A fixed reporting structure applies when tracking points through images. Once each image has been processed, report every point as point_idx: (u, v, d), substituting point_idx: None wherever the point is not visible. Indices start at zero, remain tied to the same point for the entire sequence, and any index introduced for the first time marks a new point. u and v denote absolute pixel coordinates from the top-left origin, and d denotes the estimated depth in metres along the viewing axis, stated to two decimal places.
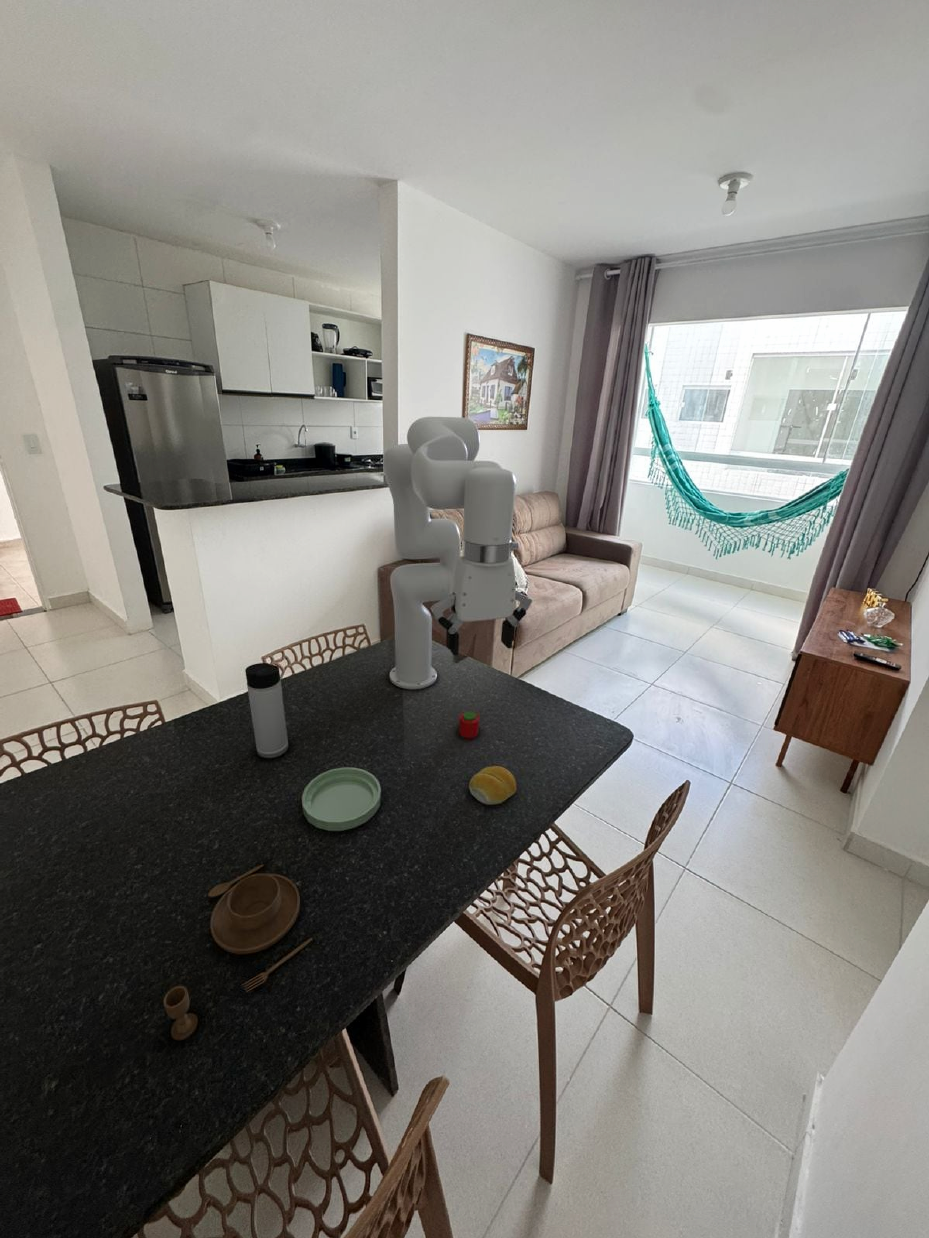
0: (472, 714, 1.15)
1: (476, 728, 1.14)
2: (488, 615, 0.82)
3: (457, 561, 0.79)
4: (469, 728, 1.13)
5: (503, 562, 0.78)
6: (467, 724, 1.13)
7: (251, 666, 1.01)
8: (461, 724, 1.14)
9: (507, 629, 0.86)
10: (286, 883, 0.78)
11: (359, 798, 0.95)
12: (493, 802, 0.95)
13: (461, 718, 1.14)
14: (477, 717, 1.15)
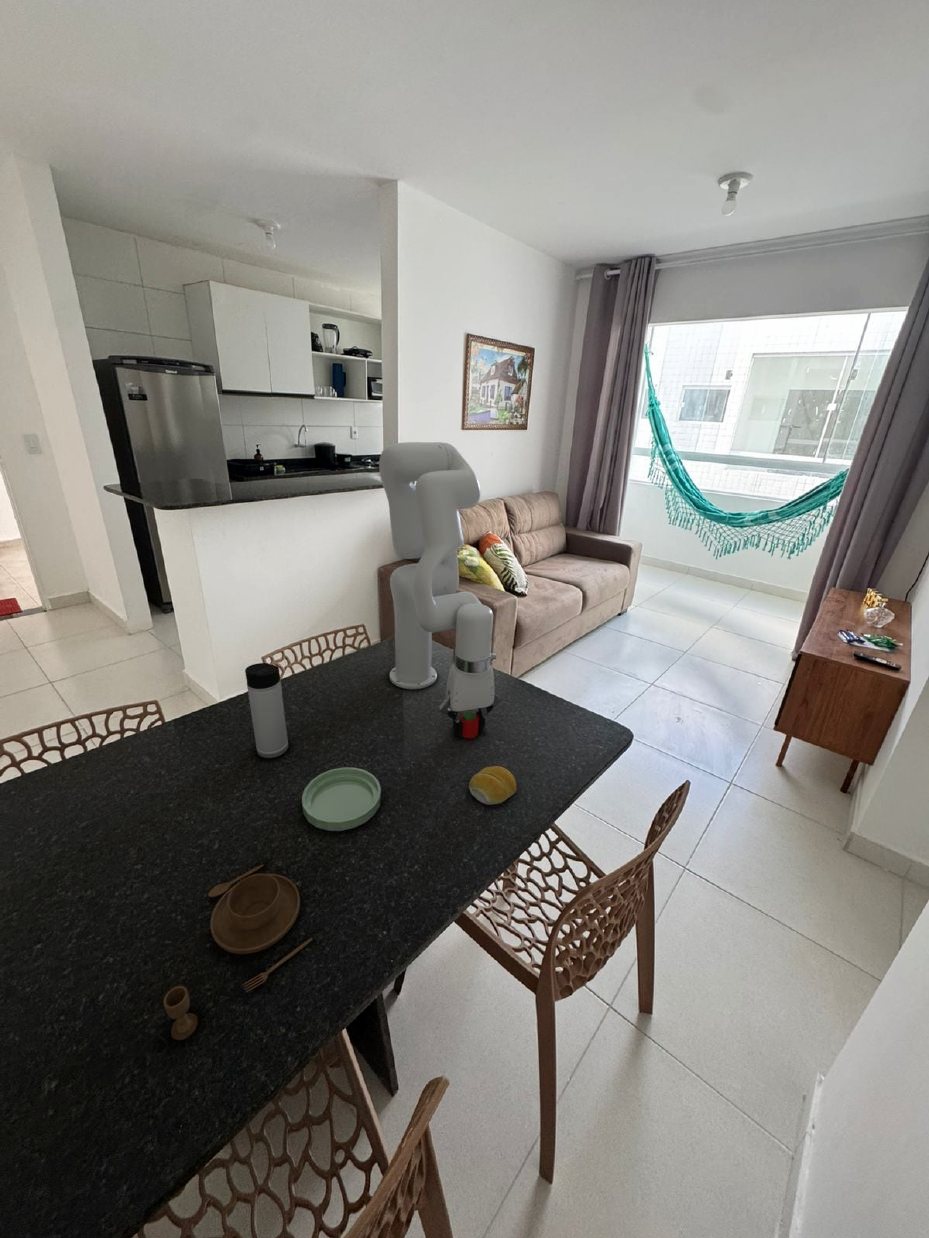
0: (472, 714, 1.15)
1: (476, 728, 1.14)
2: (474, 706, 1.11)
3: (451, 669, 1.09)
4: (469, 728, 1.13)
5: (484, 671, 1.07)
6: (467, 724, 1.13)
7: (251, 666, 1.01)
8: None
9: (479, 719, 1.15)
10: (286, 883, 0.78)
11: (359, 798, 0.95)
12: (493, 802, 0.95)
13: (461, 718, 1.14)
14: (477, 717, 1.15)
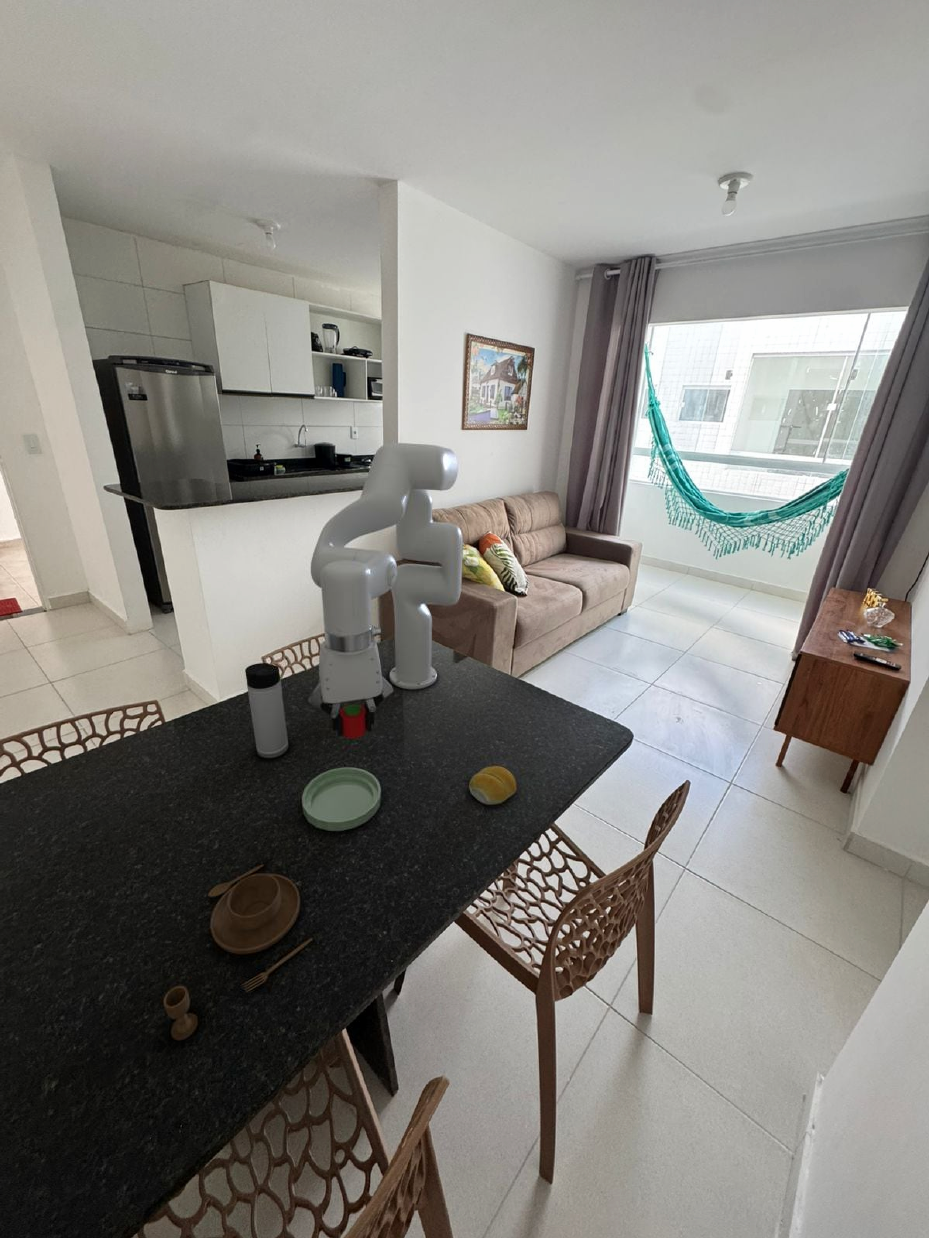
0: (356, 707, 0.89)
1: (361, 725, 0.89)
2: (354, 696, 0.86)
3: (320, 647, 0.83)
4: (351, 725, 0.88)
5: (362, 650, 0.81)
6: (348, 720, 0.87)
7: (251, 666, 1.01)
8: (341, 720, 0.88)
9: None
10: (286, 883, 0.78)
11: (359, 798, 0.95)
12: (493, 802, 0.95)
13: (342, 712, 0.89)
14: (363, 711, 0.89)
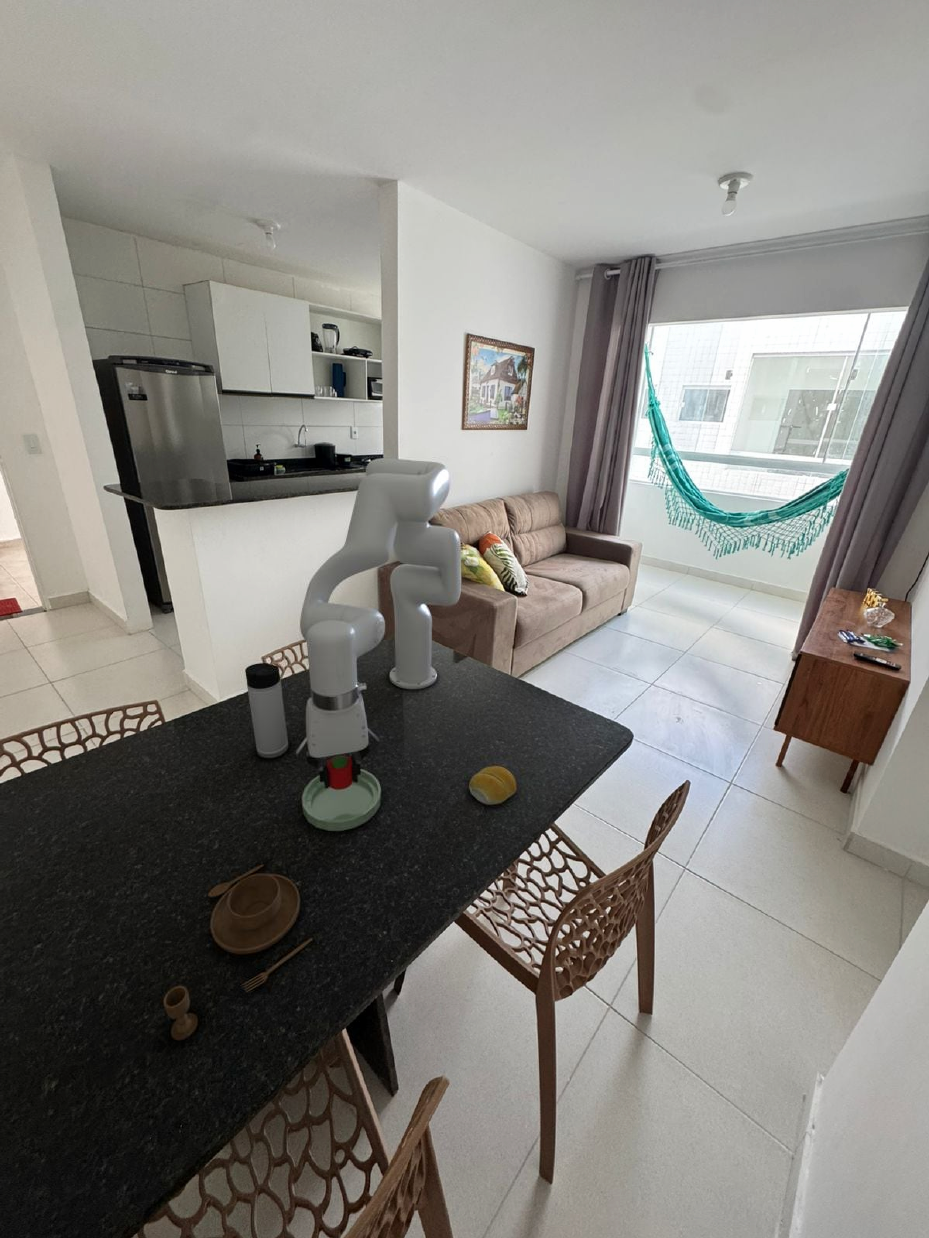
0: (343, 759, 0.91)
1: (348, 777, 0.90)
2: (340, 750, 0.87)
3: (307, 704, 0.85)
4: (337, 777, 0.89)
5: (347, 708, 0.83)
6: (334, 773, 0.89)
7: (251, 666, 1.01)
8: (328, 772, 0.90)
9: (352, 765, 0.91)
10: (286, 883, 0.78)
11: (359, 798, 0.95)
12: (493, 802, 0.95)
13: (328, 764, 0.90)
14: (350, 763, 0.91)
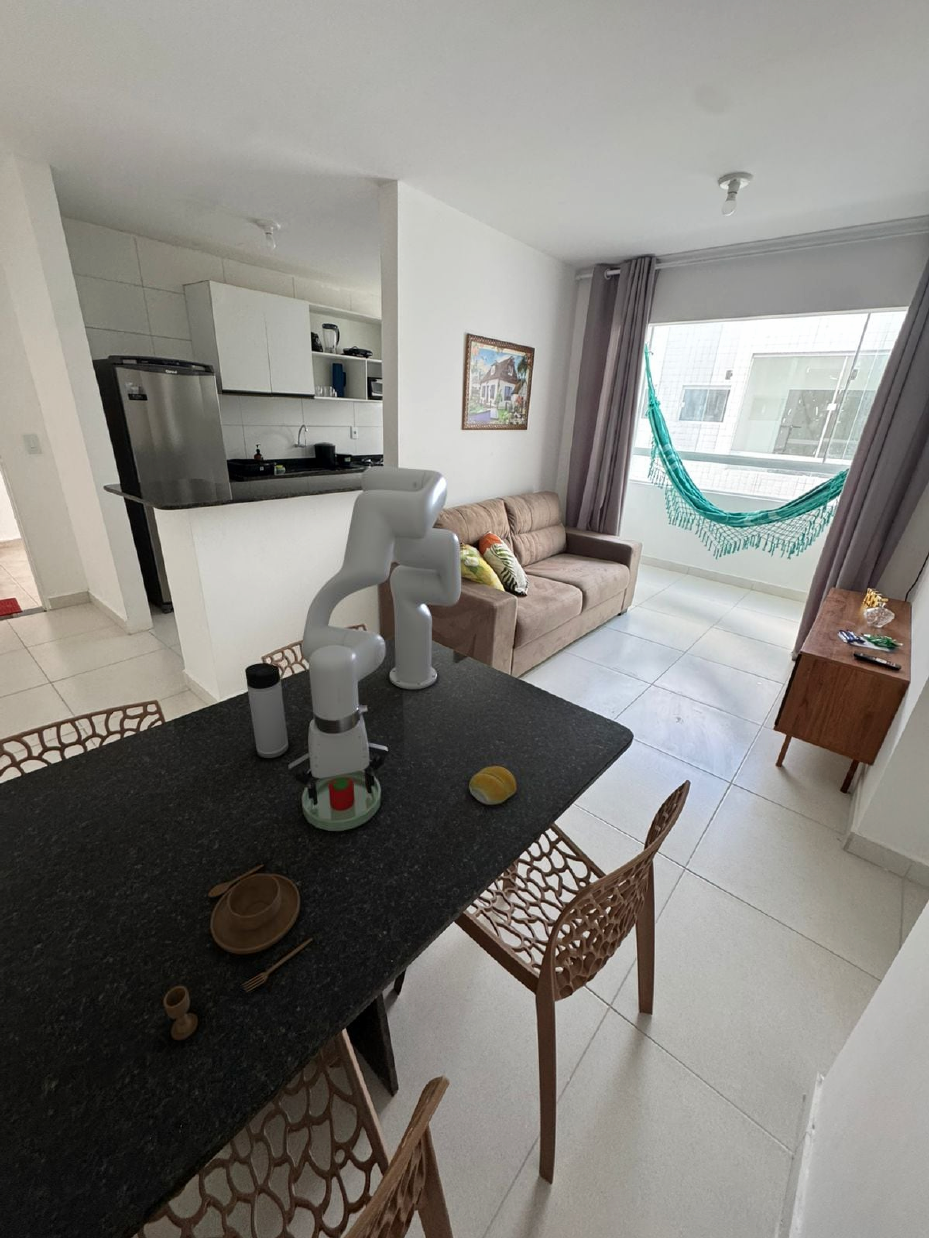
0: (345, 781, 0.93)
1: (349, 799, 0.92)
2: (342, 771, 0.89)
3: (309, 726, 0.87)
4: (339, 799, 0.91)
5: (348, 730, 0.85)
6: (336, 795, 0.91)
7: (251, 666, 1.01)
8: (330, 794, 0.92)
9: (366, 777, 0.93)
10: (286, 883, 0.78)
11: (359, 798, 0.95)
12: (493, 802, 0.95)
13: (330, 786, 0.92)
14: (351, 784, 0.93)
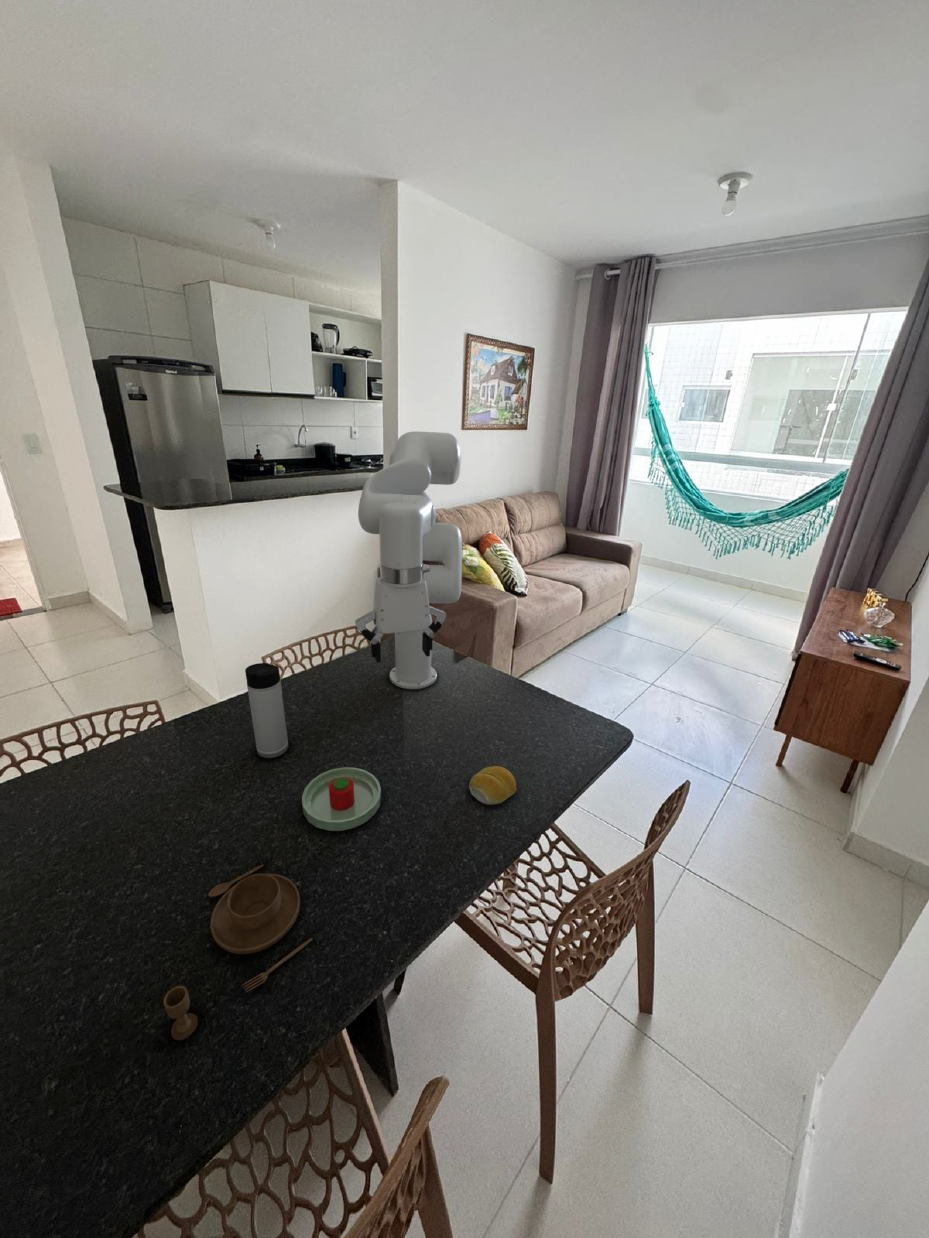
0: (345, 781, 0.93)
1: (349, 799, 0.92)
2: (405, 628, 0.95)
3: (376, 582, 0.92)
4: (339, 799, 0.91)
5: (414, 583, 0.90)
6: (336, 795, 0.91)
7: (251, 666, 1.01)
8: (330, 794, 0.92)
9: (425, 639, 0.99)
10: (286, 883, 0.78)
11: (359, 798, 0.95)
12: (493, 802, 0.95)
13: (330, 786, 0.92)
14: (351, 784, 0.93)
